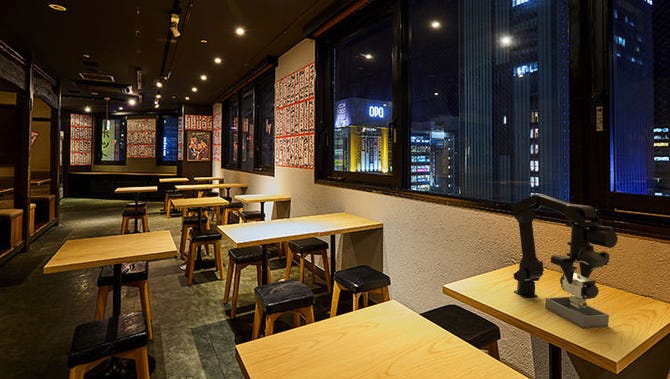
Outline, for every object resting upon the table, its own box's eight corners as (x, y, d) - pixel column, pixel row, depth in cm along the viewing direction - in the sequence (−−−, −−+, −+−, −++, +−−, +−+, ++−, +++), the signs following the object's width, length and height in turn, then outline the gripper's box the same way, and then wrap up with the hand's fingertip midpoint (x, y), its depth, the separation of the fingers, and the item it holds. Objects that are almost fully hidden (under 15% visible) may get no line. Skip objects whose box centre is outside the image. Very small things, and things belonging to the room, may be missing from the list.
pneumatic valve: (569, 299, 130) (570, 268, 129) (598, 312, 119) (599, 279, 117) (557, 300, 129) (557, 270, 128) (585, 314, 118) (585, 281, 116)
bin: (545, 308, 131) (545, 298, 131) (567, 306, 133) (568, 296, 132) (582, 328, 115) (583, 317, 115) (608, 326, 117) (609, 315, 117)
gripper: (578, 247, 112) (574, 293, 113) (624, 245, 116) (620, 290, 117) (550, 239, 123) (547, 281, 124) (594, 238, 126) (590, 279, 128)
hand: (577, 283), depth 123 cm, fingers closed on pneumatic valve, 5 cm apart
